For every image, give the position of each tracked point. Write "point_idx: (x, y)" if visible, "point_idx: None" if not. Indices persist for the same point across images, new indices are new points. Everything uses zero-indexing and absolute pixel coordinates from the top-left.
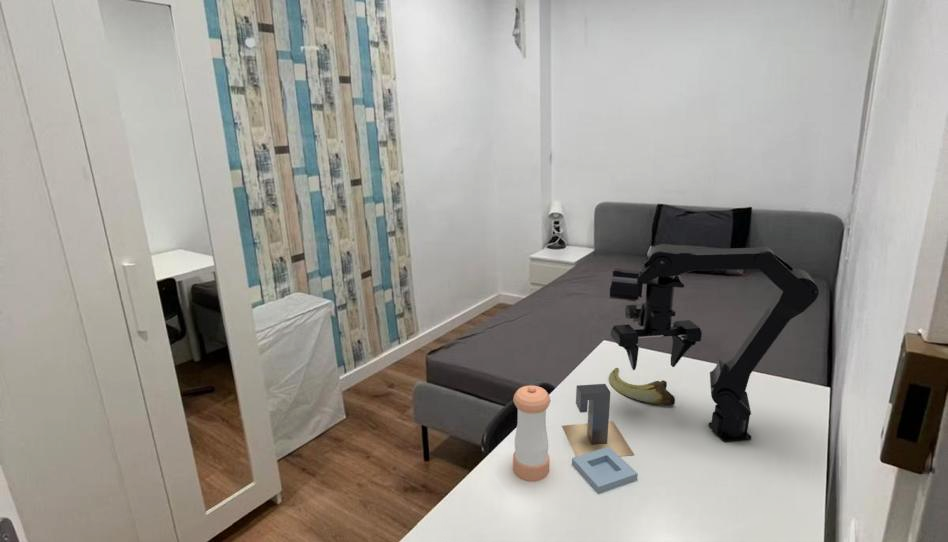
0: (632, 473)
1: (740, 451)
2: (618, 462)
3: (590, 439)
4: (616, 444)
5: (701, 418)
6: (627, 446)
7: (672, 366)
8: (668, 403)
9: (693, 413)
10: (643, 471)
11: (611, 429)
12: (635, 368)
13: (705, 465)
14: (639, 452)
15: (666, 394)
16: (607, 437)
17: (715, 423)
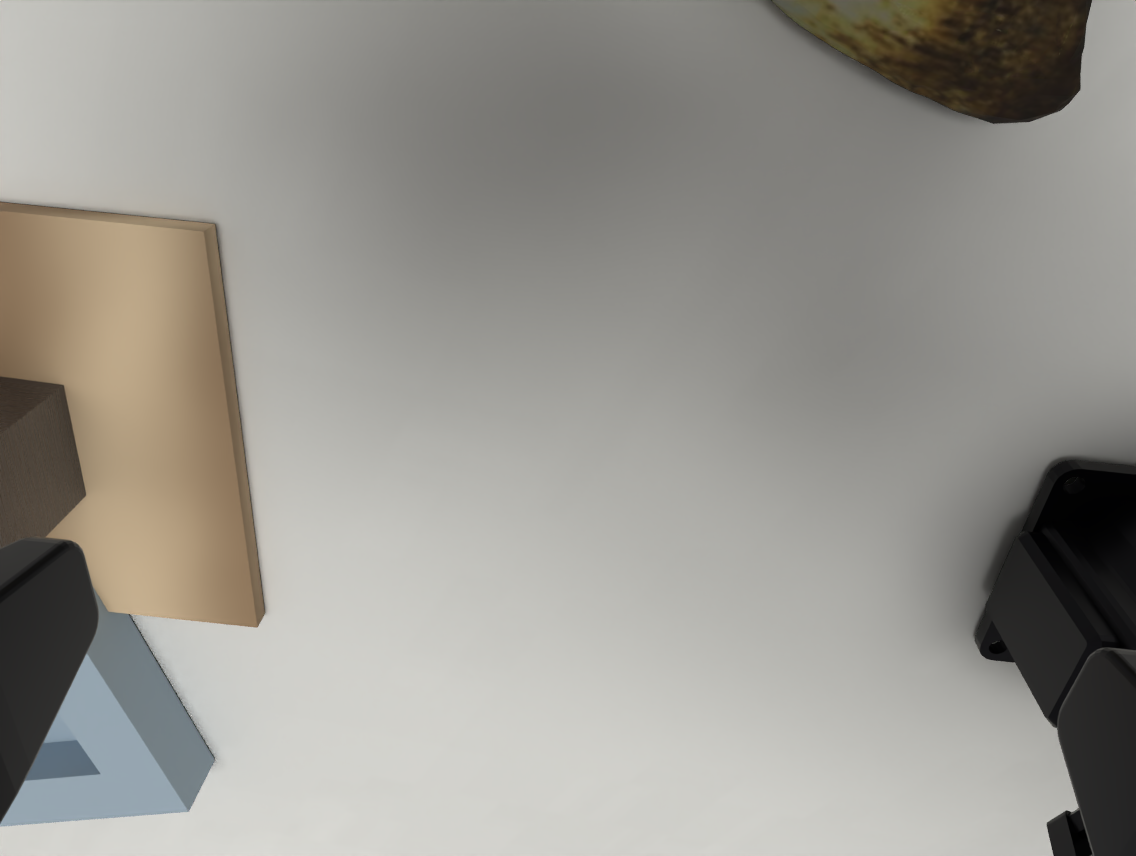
0: (157, 805)
1: (991, 722)
2: (92, 729)
3: None
4: (158, 516)
5: (1095, 359)
6: (234, 554)
7: (1063, 721)
8: (953, 103)
9: (1100, 268)
10: (280, 712)
11: (158, 347)
12: (70, 680)
13: (672, 755)
14: (319, 584)
15: (1023, 17)
16: (51, 529)
17: (1028, 636)
